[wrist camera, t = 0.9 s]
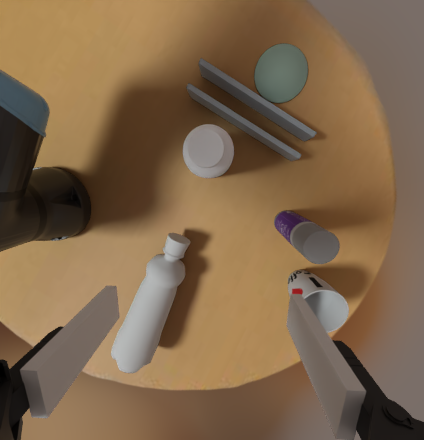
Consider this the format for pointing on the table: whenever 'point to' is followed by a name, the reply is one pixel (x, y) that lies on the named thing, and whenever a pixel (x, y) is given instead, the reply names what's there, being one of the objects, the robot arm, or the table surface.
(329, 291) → the cup
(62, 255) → the table surface
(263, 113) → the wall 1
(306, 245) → the container
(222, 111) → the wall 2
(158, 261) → the bottle
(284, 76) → the spot
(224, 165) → the pill bottle
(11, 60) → the table surface
